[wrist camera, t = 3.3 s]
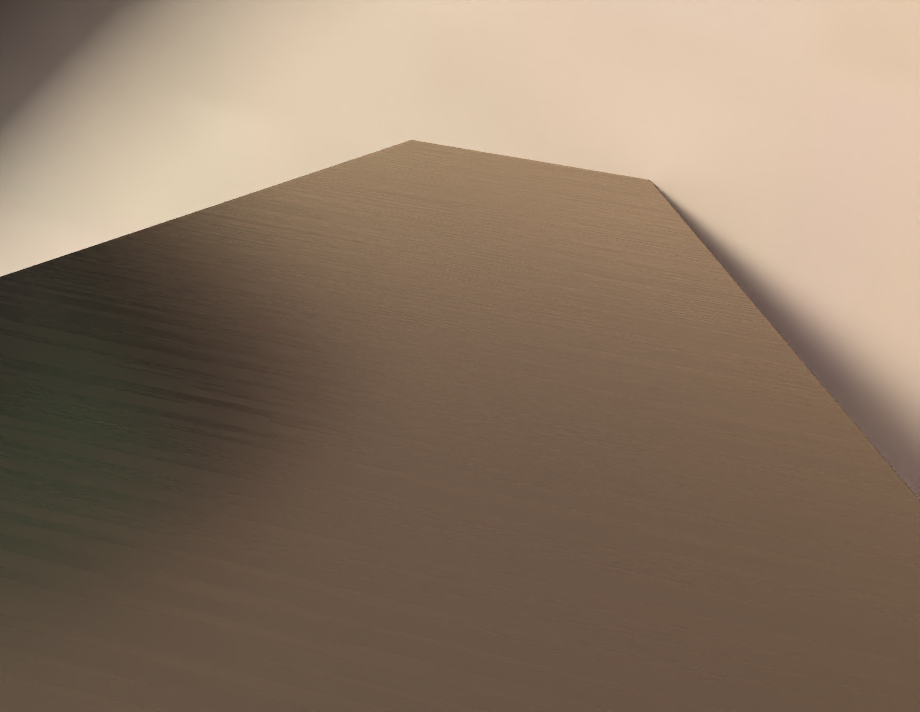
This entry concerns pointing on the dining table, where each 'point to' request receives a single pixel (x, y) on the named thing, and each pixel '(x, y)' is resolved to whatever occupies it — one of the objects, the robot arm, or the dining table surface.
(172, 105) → the dining table surface
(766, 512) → the dark grey thick block
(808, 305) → the dining table surface
